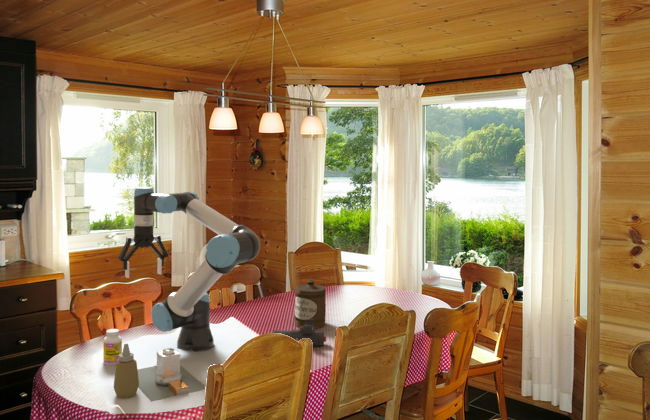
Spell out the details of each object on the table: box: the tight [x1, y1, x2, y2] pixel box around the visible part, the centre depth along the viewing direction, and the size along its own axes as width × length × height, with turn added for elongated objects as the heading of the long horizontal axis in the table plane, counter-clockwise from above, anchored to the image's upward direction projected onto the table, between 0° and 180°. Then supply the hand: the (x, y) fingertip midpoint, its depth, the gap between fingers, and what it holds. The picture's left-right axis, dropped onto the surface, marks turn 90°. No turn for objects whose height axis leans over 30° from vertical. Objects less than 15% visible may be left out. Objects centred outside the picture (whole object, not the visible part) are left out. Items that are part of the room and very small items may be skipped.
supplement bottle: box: [103, 328, 123, 366], centre depth 225 cm, size 7×7×13 cm
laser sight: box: [273, 319, 327, 347], centre depth 253 cm, size 10×22×10 cm, turn 86°
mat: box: [137, 364, 206, 402], centre depth 209 cm, size 20×30×1 cm, turn 35°
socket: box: [156, 347, 181, 379], centre depth 207 cm, size 6×6×9 cm
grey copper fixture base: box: [155, 372, 189, 397], centre depth 203 cm, size 18×9×6 cm, turn 35°
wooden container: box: [294, 279, 327, 330], centre depth 282 cm, size 15×15×22 cm
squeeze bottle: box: [113, 343, 139, 400], centre depth 195 cm, size 8×8×18 cm
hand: (143, 275), depth 242 cm, fingers open, 13 cm apart
